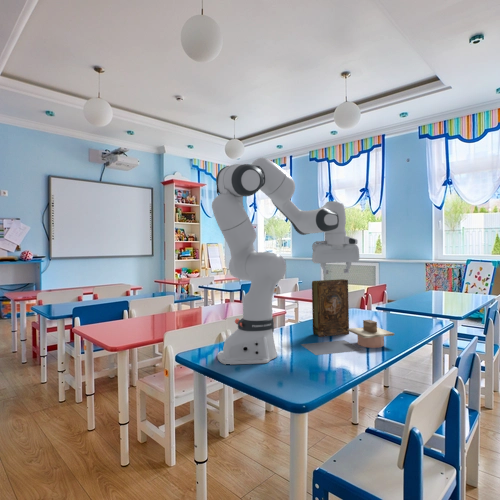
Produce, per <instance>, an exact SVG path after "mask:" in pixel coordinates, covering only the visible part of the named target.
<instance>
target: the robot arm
mask: <svg viewBox="0 0 500 500" xmlns="http://www.w3.org/2000/svg"><path fill="white" fill-rule="evenodd" d="M215 182H216V183H215V185H216V194H217V196H216V197H215V198H214V199H213V200H212V203H211V209H212V213H213V215H214V218H215V221H216V224H217V226H218V227H219V230H220V232H221V234H222V235H223V237H224V239H225V241H226V243H227V246H228V248H229V251H230V252H229V253H230V260H229V261H228V263H229V264H228V271H229V273H230V274H231V276H232V277H234V278H236V279H238V280H241V281H244V282H246V281H248V282H250V287H249V290H248V292H247V293H245V294H244V296H243V297H242V318H241V319H240V318H235V319H234V322H235V324H236V325H237V329H236V330H235V331H234V332H233V333H231V334H230V335H228V337H226V339H224V342H223V347H222V350H220V351H218V353H217V360H218V361H219V363H221V364H223V365H226V364H230V365H252V364H253V365H255V364H268V363H269V362H270V361H271V360H273V359H275V358H277V357H278V352H277V348H276V343H275V338H274V332H275V321H274V317H273V296H274V293H275V289H276V286H277V285H278V283H279V282H280V281H281V280H282V279H283V278H284V276H285V275H286V271H287V262H286V260H285V259H284V256H282V255H280V254H278V253H275V252H270V251H267V252H266V251H265V252H262V251H259V252H258V251H257V250H256V249H255V246H254V243H255V241H256V238H257V232H256V230H255V228H254V226H253V223H252V221H251V219H250V217H249V214H248V213H247V211H246V208H245V207H244V202H243V200H244V197H251V196H253V195H255V194H256V193H257V192H259V191H261V192H262V194H263V193H264V194H265V196H267V198H269V199H270V201H271V203H272V204H273V205H274V207H275V208H276V209H277V210H278V211H279V212H280V213H281V214H282V215H283V216H284V217H285V218H286V219H287V220H288V221H289V222H290V224H291V225H292V227H293V229H294V230H295V232H297V234H298V235H301V236H302V235H303V236H305V235H310V234H319V233H320V234H321V233H322V234H323V233H324V240H316V241H315V242H313V244H312V246H311V247H312V255H311V256H312V257H311V260H312V263H313V264H319V265H320V267H321V269H322V272H323V273H322V274H323V275H329V269H327V268H326V266H327V265H326V264H335V263H337V264H339V263H345V265H346V267H345V268H343V273H344V274H349V273H350V268H351V266H352V263H358V262H359V261H360V248H359V246H358V239H357V238H353V237H351V236H348V235H347V231H346V223H347V218H346V217H347V216H346V208H345V206H344V204H343V203H342V202H341V201H335V200H333V201H332V200H331V201H326V202H325V204H323V206H321V207H319V208H317V209H310V210H302V209H299V207H297V205H296V204H295V203H294V202H293V201H292V200H291V199H292V198H293V195H294V194H295V190H296V183H295V180H294V179H293V177H292V176H291V175H290V174H289V173H288V172H287V171H285V170H284V169H283V168H282V167H281V166H280V165H278V164H277V163H275V162H274V161H272V160H270V159H269V158H266V157H258V158H257V159H255V160H253V162H252V163H250V164H249V163H244V164H240V163H235V164H231V165H226V166H223V167H222V168H221V169H220V170H219V171H218V172H217V175H216V178H215Z"/></svg>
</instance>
